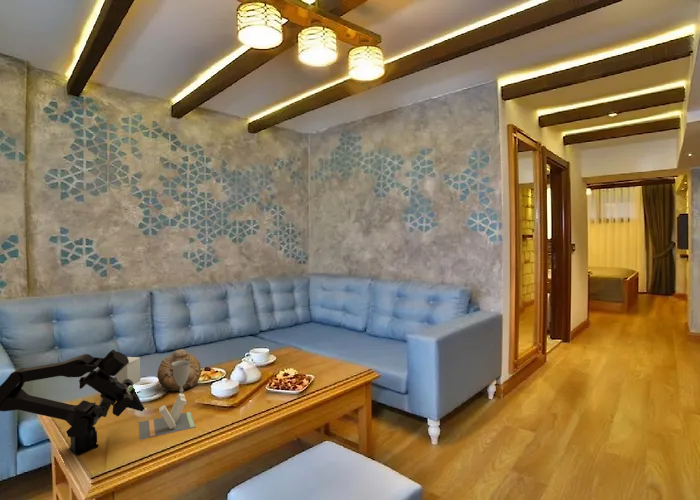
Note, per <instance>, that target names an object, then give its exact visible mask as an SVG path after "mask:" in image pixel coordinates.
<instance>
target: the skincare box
mask: <svg viewBox="0 0 700 500" xmlns="http://www.w3.org/2000/svg"><path fill="white" fill-rule="evenodd" d="M126 357H127V358H128V360H129V363H128V364H127V365H126V366H125V367H124V368H123V369H122V370H121V371H119V372H118V373H117V374H116V375H115V376H114V377H116V378H117V381H119V382H120V383H122V382H123V381H124V380H125V379H130V380H131V381H132V382H133V385H134V384H135V383H137V382H139V381H141V357H139V356H133V357H132V356H126ZM133 385H132V386H131V385H129V387H128V388H127V391H128V390H129V391H131V390H132V389H133Z"/></svg>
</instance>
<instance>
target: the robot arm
mask: <svg viewBox="0 0 700 500" xmlns="http://www.w3.org/2000/svg"><path fill="white" fill-rule="evenodd" d="M127 357H128V356H126V354H124V353H122V352H120V351H116V350H115V349H112V350H111V351H109V352H108V353H107V355H106V356H105V357H104V358H103V357H96V356H95V357H94V356H92V355H91V354H87V353H84V354H81V355H77V356H75V357H72V358H70V359H67V360H65V361H60V362H54V363H49V364H48V363H47V364H43V365H36V366H30V367H21V368H19V369H16V370H14V371H13V372H11V373H10V374H9V376H8V377H7V378H6V379H5V380H4V382H3V383H1V384H0V412H12V411H21V412H26V413H31V414H35V415H40V416H45V417H49V418H52V419H53V418H54V419H57V420H58V419H59V420H63V421H65V422H66V423H68V425H69V426H70V427H69V428H68V429H67V430H66V432H65V433H66V434H67V437H68V438H69V439H70V441H69V442H70V447H69V448H68V451H69V452H71V453H73V454H74V455H76V456H80V455H82V454H85V453H87V452H89V451H91V450H93V449H96V448H98V447H99V443H98V431H97V430H96V427H95V425H96V424H97V423H98V421H99V420H100V419H101V418H102V417H104V418H106V417H107V415H108V412H109V410H110V408H111V406H112V414H113V415H114V416H116V417H119V416H121V414H122V413H123V412H125V410H126V409H132V410H136V411H139V412H143V411H145V406H144V405H143V403H142V402H141V399H140V397H139V395H138V393H137V394H136V392H135V389H134V388H133V389H132V390H131V391H129V390H128V391H127V388H128V387H129V385H131V386H132V385H133V382H132V381H131V380H130V379H125V380H124V381H123V382H122V383H120V382H119V381H117V378H116V377H115V375H116V374H117V373H118V372H119V371H121V370H122V369H123V368H124V367H125V366H126V365H127V364H128V363H129V360H128V358H127ZM97 368H98V369H97ZM86 374H87V375H86ZM84 375H86V376H84ZM83 376H84V377H83ZM56 377H65V378H79V380H78V381H79V389H80V390H81V389H83V388H84V387H85V386H86V385H87V386H89V387H90V388H91V389H93V390H95V391H96V392H98V393H99V395H100V398H101V400H100V402H99V404H97V401H96V402H90V401H87V400H84V399H83V400H82V401H81V402H79V403H78V404H70V403H65V402H61V401H57V400H52V399H48V398H43V397H40V396H34V395H31V394H30V395H29V394H28V393H27V392H25V390H24V389H23V387H24V385H25V383H27V382H33V381H37V380H38V381H39V380H44V379H49V378H56Z"/></svg>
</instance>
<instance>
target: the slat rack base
mask: <svg viewBox="0 0 700 500" xmlns="http://www.w3.org/2000/svg"><path fill="white" fill-rule="evenodd" d="M186 402H187V400H186V397H185V394H184V393H183V394H180V393H178V395H177V397H176V398H175V401H174V404H173V406H172V407H171V410H170V412H169V413H170V415H171V416H172V418H173V420H174V421H175V424H176V426H175V427H173V428H172V429H170V428H169V426H168V425H167V423H166V421H165V420H164V418H163V416H162V417H158V418H152V419H147V420H142V421H138V429H139V431H138V432H139V441H142V440H145V439H150V438H155V437H159V436H164V435H167V434H173V433H176V432H181V431H186V430H187V431H188V430H191V429H194V428H196V424H195V421H194V417H193V415H192V412H191V411H188V412H186V411H185V412H183V410H184V407H185V405H186V404H185V403H186Z"/></svg>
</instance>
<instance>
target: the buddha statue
mask: <svg viewBox="0 0 700 500" xmlns="http://www.w3.org/2000/svg"><path fill="white" fill-rule="evenodd" d="M181 360H186V361H190V364H189V376H188V379H187V381H186V383H185V385H183V391H186V390H189V389H191V388H193V387H195V385H197V384H198V382H199V380H200V378H201V375H202V374H201V373H202V368H201V363H200V361H199V359H197V358H196V356H195V355H194V354H193V353H189V352H188V351H186V350H185V349H182V348H181V349H177V350H175V351H174V352H173V353H170V354H169V355H168V356H167V357H164V358H162V360H161V361H160V364H159V366H158V369H157V379H158V382H159V384H160V385H161V386H162V388H163V389H164V388H165V389H167V390H168V391H167V390H166V391H167V392H171V393H177V392H180V391H179V390H180V386H178V385H177V383H176V381H175V379H174V377H173V366H172V363H173V362H176V361H181ZM165 389H164V390H165Z"/></svg>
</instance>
